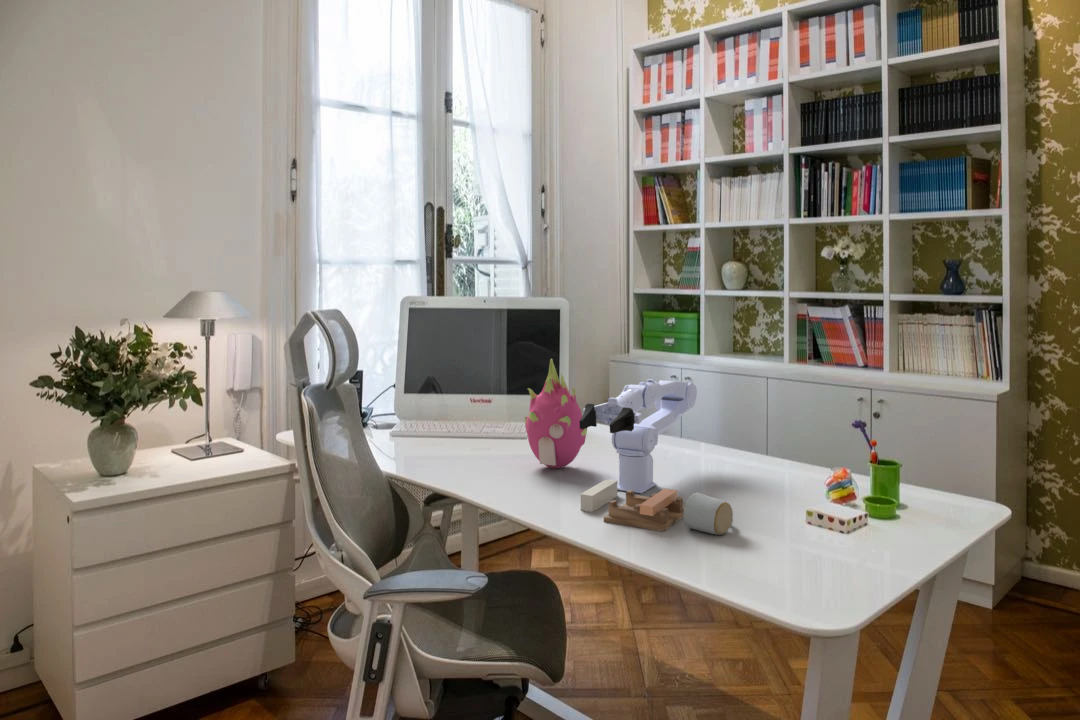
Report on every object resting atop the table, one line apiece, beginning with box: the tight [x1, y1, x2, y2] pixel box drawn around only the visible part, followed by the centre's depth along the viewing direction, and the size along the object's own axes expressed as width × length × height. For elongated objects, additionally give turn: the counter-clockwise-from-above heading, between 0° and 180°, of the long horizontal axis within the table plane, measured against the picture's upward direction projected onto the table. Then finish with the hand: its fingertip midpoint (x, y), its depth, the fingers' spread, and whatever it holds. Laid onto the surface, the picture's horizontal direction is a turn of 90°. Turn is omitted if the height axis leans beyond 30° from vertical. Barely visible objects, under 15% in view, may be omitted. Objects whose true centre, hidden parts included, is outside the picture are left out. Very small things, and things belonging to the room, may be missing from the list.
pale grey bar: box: [580, 478, 618, 512], centre depth 191 cm, size 14×3×4 cm, turn 151°
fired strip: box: [640, 488, 678, 516], centre depth 178 cm, size 14×3×2 cm, turn 149°
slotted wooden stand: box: [603, 490, 684, 532], centre depth 179 cm, size 14×14×4 cm
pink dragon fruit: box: [524, 358, 588, 469], centre depth 221 cm, size 18×14×30 cm
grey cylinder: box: [682, 492, 734, 536], centre depth 171 cm, size 11×8×8 cm
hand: (595, 426), depth 184 cm, fingers open, 7 cm apart
